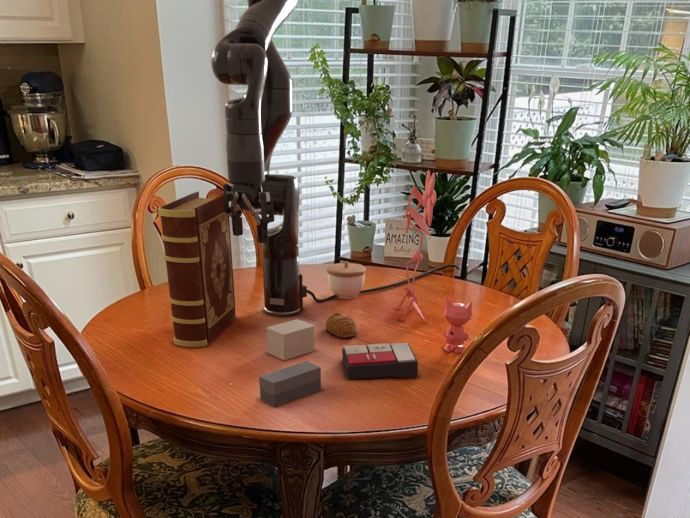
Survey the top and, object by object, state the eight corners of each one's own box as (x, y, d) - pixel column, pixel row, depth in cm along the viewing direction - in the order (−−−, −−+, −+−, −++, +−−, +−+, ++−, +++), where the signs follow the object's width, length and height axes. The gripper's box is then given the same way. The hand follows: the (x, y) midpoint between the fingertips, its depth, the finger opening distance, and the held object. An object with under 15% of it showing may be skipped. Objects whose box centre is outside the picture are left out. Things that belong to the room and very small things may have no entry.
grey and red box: (341, 344, 157) (408, 339, 158) (342, 362, 159) (408, 357, 160) (346, 363, 147) (418, 358, 149) (347, 382, 150) (417, 377, 151)
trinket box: (320, 298, 197) (320, 264, 192) (336, 288, 206) (336, 255, 201) (355, 303, 194) (356, 269, 189) (370, 293, 202) (371, 259, 197)
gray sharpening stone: (306, 383, 147) (306, 360, 145) (321, 390, 145) (320, 367, 142) (260, 399, 140) (259, 376, 137) (274, 407, 137) (273, 383, 135)
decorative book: (203, 349, 162) (189, 211, 147) (170, 346, 164) (153, 208, 148) (237, 318, 181) (228, 193, 165) (207, 315, 182) (196, 190, 167)
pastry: (363, 337, 171) (364, 322, 169) (338, 341, 169) (338, 325, 167) (347, 325, 179) (347, 310, 177) (322, 328, 176) (322, 313, 174)
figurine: (400, 332, 175) (408, 179, 157) (391, 300, 197) (398, 163, 179) (462, 332, 176) (477, 180, 158) (446, 300, 198) (458, 164, 180)
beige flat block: (297, 327, 165) (297, 318, 164) (314, 334, 161) (314, 325, 160) (266, 336, 159) (266, 327, 158) (283, 343, 156) (283, 334, 155)
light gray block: (297, 343, 167) (297, 327, 165) (314, 350, 163) (314, 334, 161) (267, 353, 161) (266, 336, 159) (284, 360, 158) (283, 343, 156)
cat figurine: (471, 347, 167) (477, 297, 161) (465, 357, 162) (470, 305, 155) (442, 343, 169) (446, 293, 163) (435, 353, 164) (439, 301, 157)
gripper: (282, 159, 143) (284, 242, 152) (239, 151, 152) (243, 230, 160) (252, 163, 139) (256, 248, 147) (209, 154, 147) (216, 235, 156)
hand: (250, 238), depth 154 cm, fingers open, 8 cm apart
